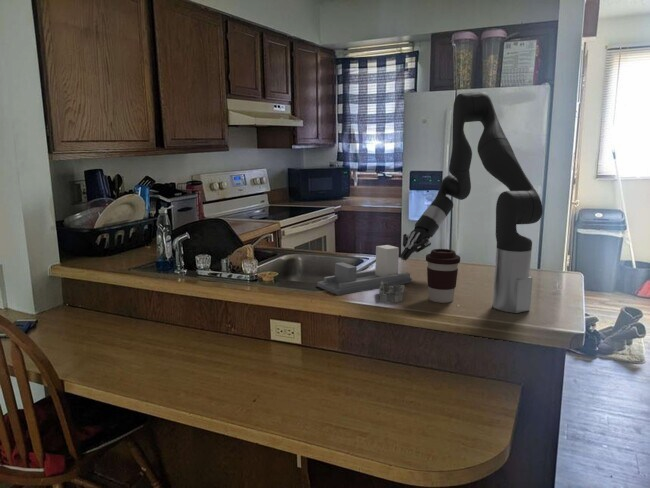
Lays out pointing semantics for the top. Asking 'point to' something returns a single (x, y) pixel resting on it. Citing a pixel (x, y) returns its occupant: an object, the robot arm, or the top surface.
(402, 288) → the egg carton
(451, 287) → the coffee cup
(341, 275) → the grey rectangular block
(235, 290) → the top surface
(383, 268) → the block
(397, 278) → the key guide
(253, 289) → the top surface
